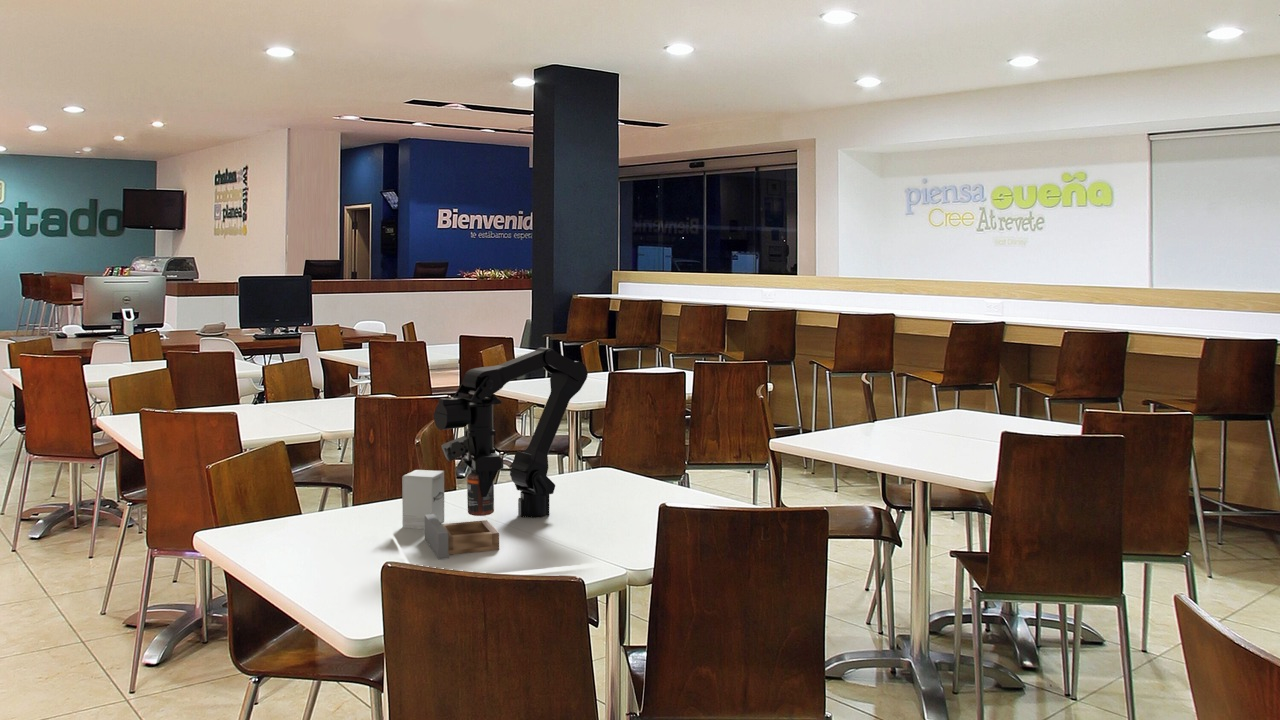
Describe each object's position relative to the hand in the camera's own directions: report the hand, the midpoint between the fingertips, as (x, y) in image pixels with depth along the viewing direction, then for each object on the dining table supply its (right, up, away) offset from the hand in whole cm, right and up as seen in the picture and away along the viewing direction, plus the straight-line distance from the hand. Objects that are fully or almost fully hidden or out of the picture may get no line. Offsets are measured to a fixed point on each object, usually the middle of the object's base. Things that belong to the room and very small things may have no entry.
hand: (480, 493), depth 226 cm
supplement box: (-13, -8, +1) cm, 15 cm away
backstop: (+3, -9, -14) cm, 17 cm away
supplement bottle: (0, -5, 0) cm, 5 cm away
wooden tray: (0, -9, -15) cm, 18 cm away
